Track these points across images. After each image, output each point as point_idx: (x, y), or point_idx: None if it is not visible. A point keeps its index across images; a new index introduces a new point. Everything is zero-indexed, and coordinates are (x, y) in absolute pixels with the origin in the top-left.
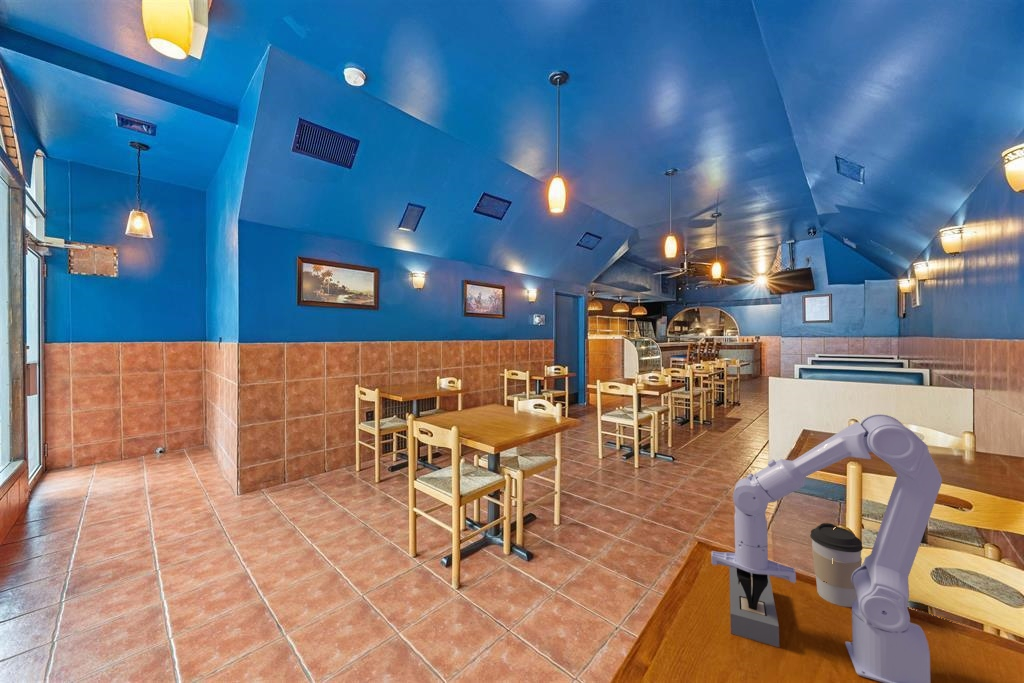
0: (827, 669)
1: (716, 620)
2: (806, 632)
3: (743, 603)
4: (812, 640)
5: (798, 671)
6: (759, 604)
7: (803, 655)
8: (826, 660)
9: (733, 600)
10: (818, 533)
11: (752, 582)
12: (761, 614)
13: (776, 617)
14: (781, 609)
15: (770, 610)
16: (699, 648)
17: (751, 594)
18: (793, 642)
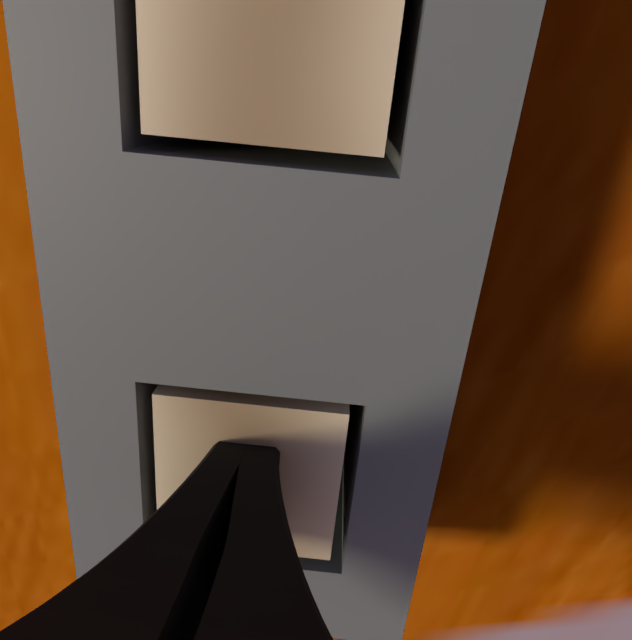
0: (587, 591)
1: (47, 414)
2: (621, 347)
3: (174, 472)
4: (622, 412)
5: (435, 632)
6: (310, 443)
7: (504, 539)
8: (617, 540)
9: (90, 463)
10: None
11: (297, 31)
12: (304, 553)
13: (412, 566)
14: (542, 108)
15: (387, 506)
16: (4, 623)
17: (228, 495)
18: (487, 463)
